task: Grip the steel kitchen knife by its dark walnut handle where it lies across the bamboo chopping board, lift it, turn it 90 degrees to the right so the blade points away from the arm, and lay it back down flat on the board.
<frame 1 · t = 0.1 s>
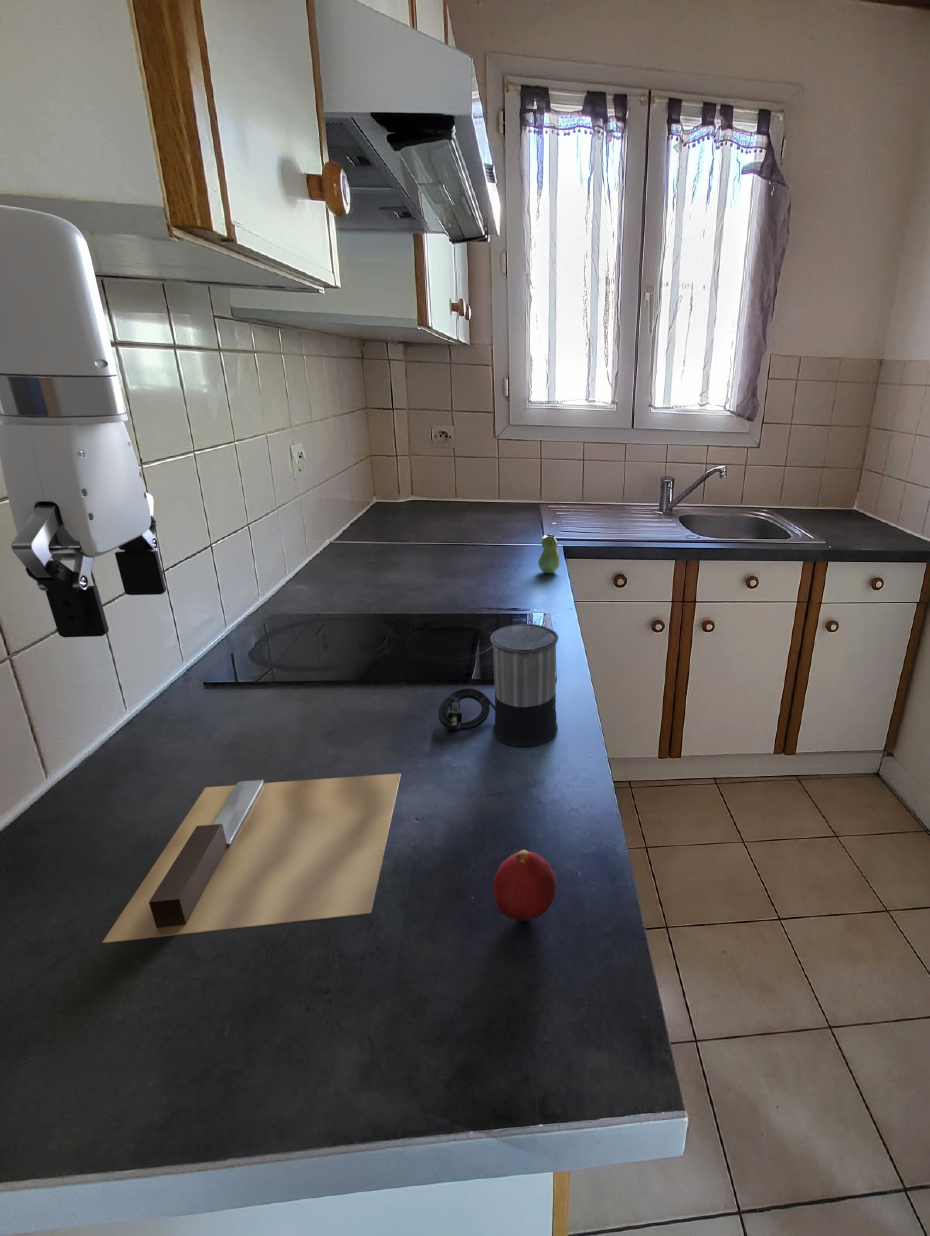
hand: (118, 612, 54), 28 cm above the counter, tool pointing down, fingers open, 9 cm apart
chopping board: (280, 854, 67), on the counter
pear: (548, 573, 162), on the counter
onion: (525, 917, 61), on the counter
milk frother: (499, 727, 93), on the counter
knife: (234, 813, 71), point 1 cm above the counter, touching chopping board
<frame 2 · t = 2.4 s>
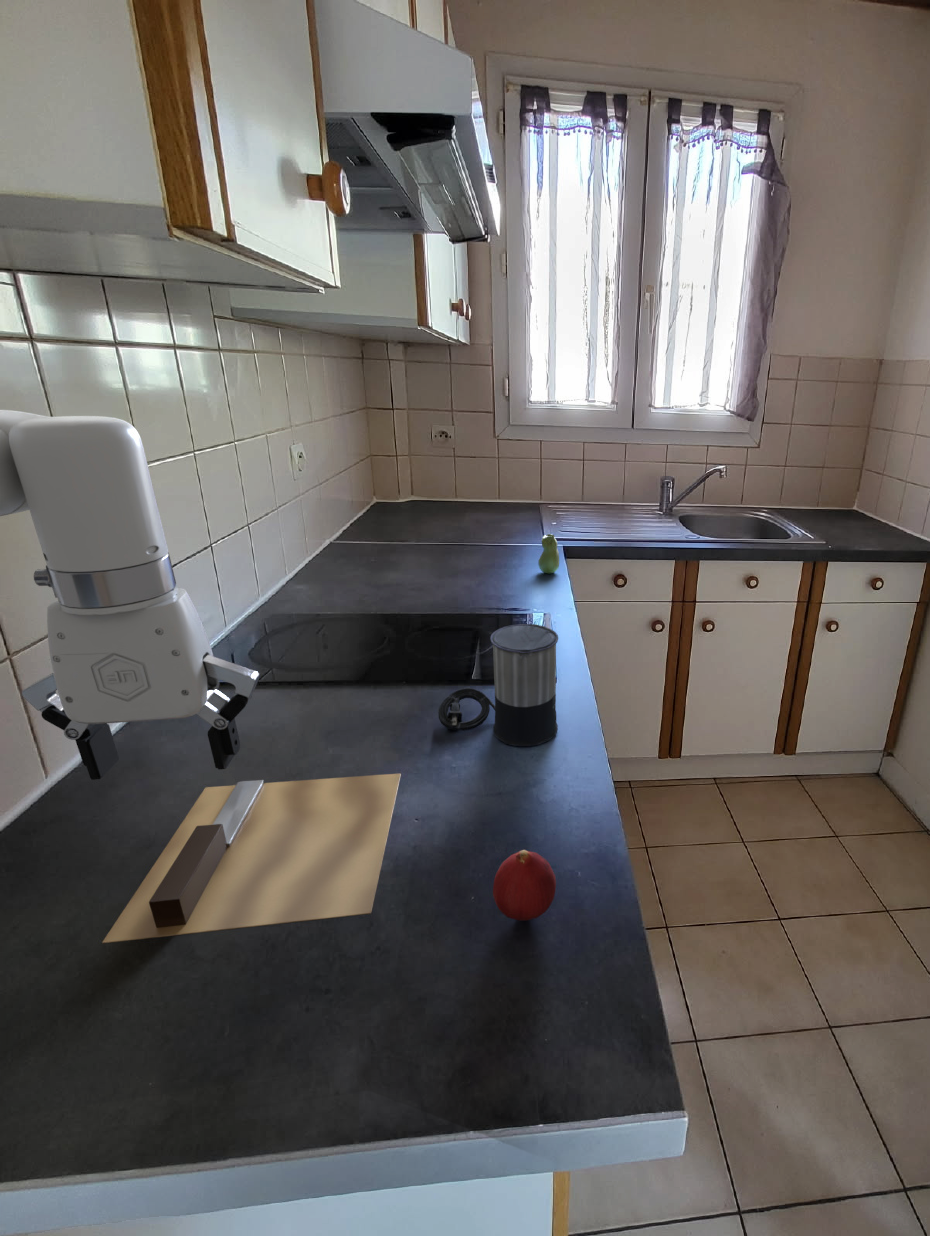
hand: (167, 765, 56), 15 cm above the counter, tool pointing down, fingers open, 9 cm apart
nothing on the counter moved.
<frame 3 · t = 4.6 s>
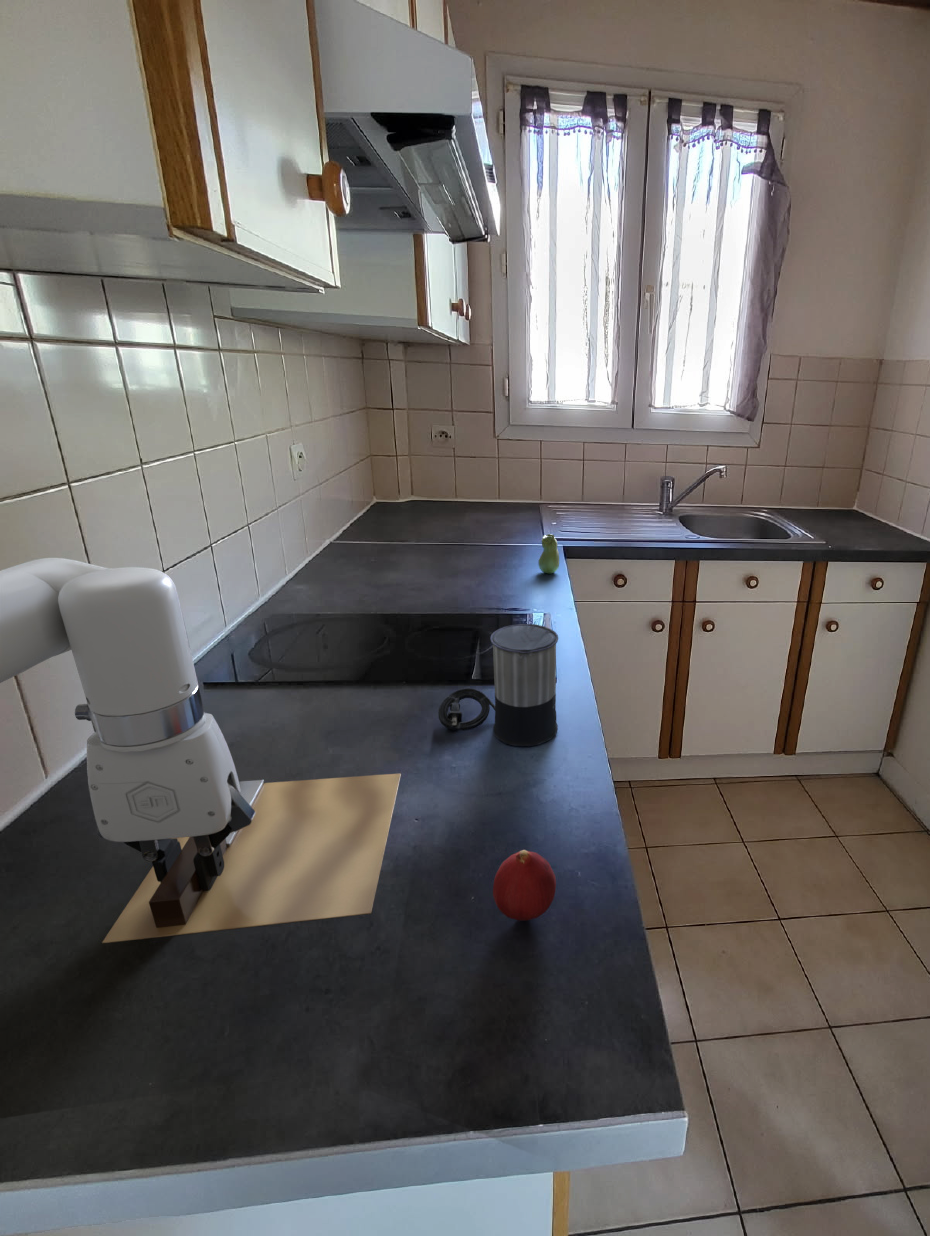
hand: (193, 880, 61), 2 cm above the counter, tool pointing down, fingers closed on knife, 2 cm apart
knife: (234, 813, 71), point 2 cm above the counter, touching chopping board, gripper
everything else where it was.
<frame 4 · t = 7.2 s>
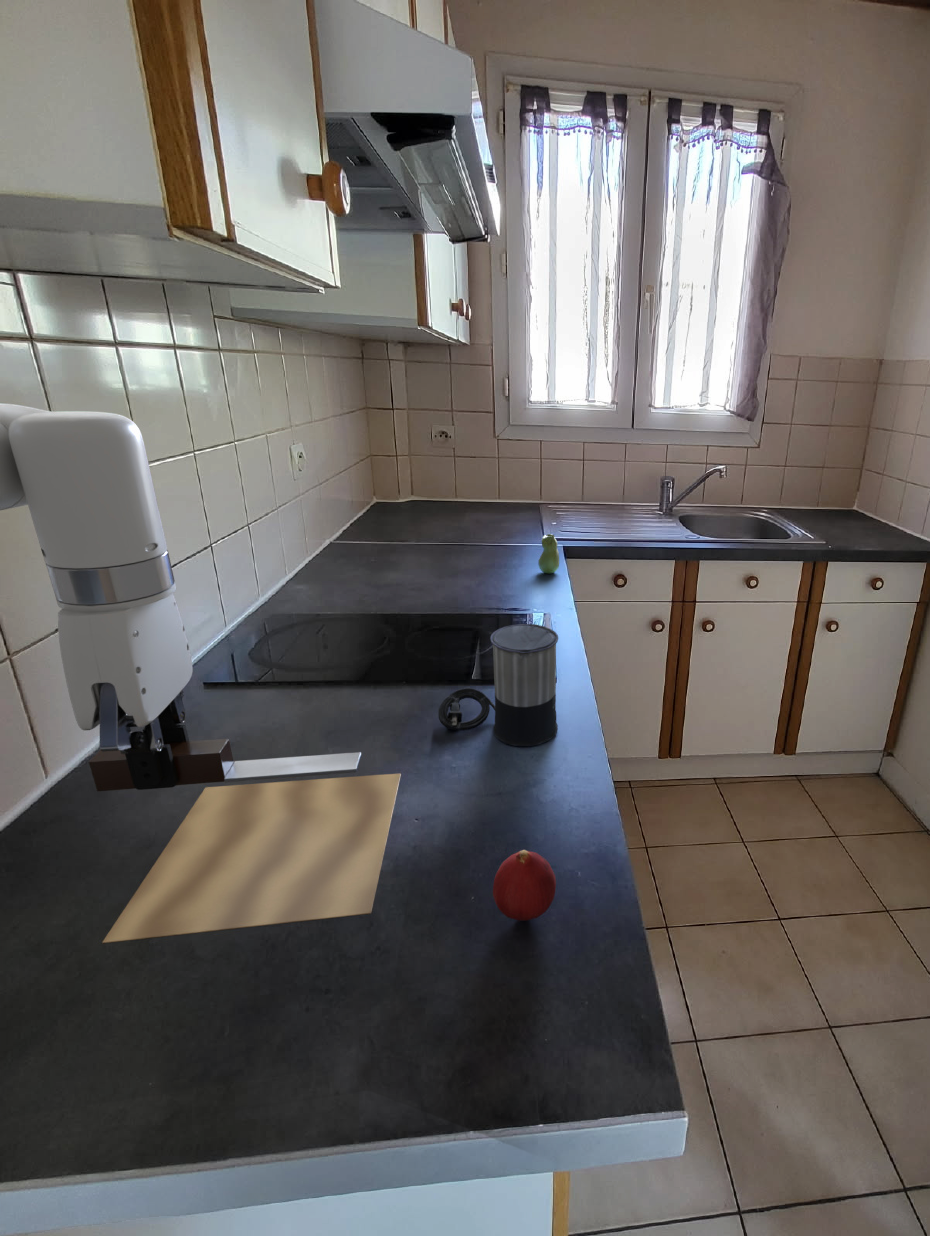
hand: (165, 774, 56), 14 cm above the counter, tool pointing down, fingers closed on knife, 2 cm apart
knife: (296, 769, 59), point 14 cm above the counter, touching gripper
everything else where it was.
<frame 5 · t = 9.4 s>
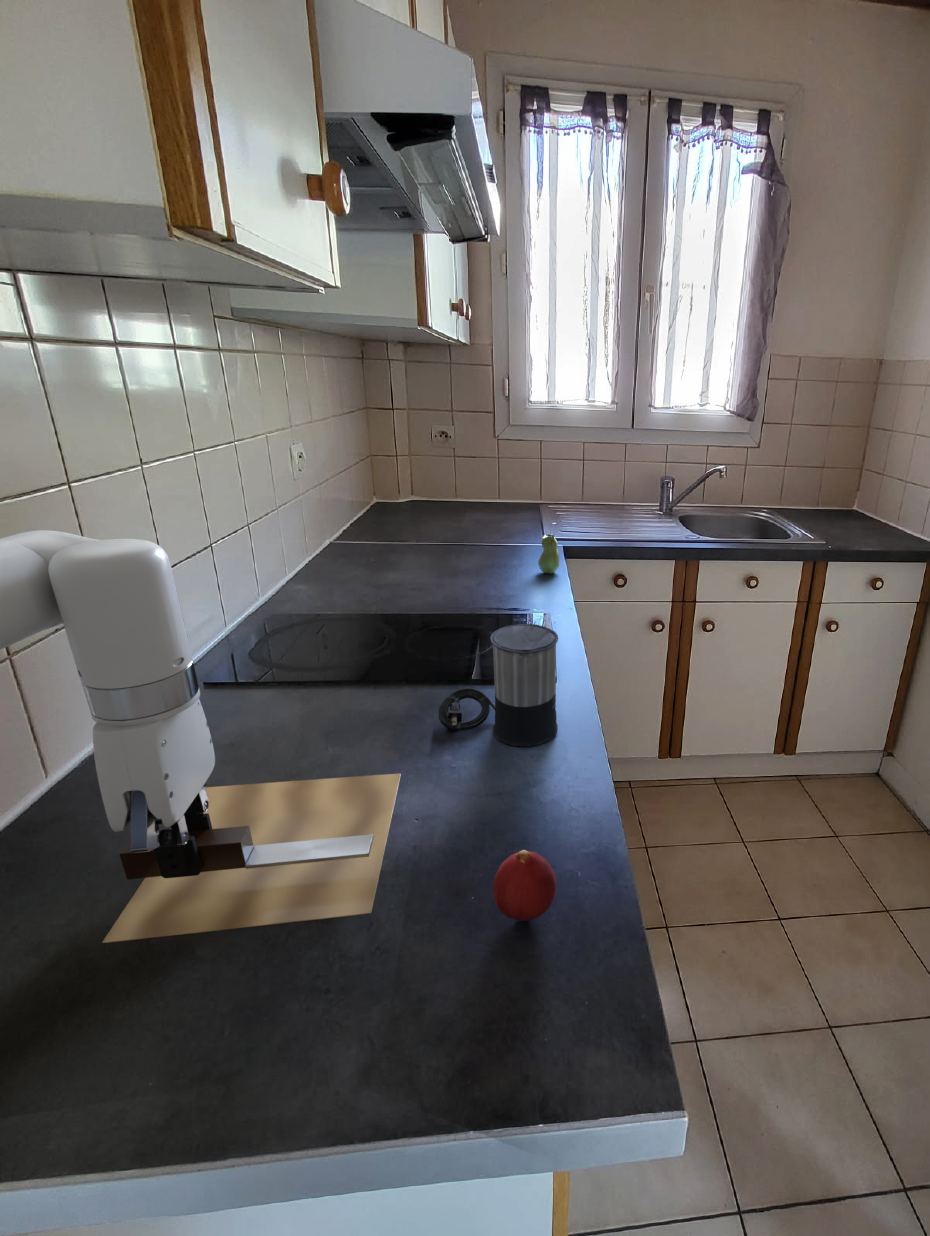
hand: (190, 860, 60), 4 cm above the counter, tool pointing down, fingers closed on knife, 2 cm apart
knife: (312, 853, 62), point 4 cm above the counter, touching gripper
everything else where it was.
when the fingers open (2 cm above the counter, at t = 10.2 s): knife stays where it is, resting on chopping board.
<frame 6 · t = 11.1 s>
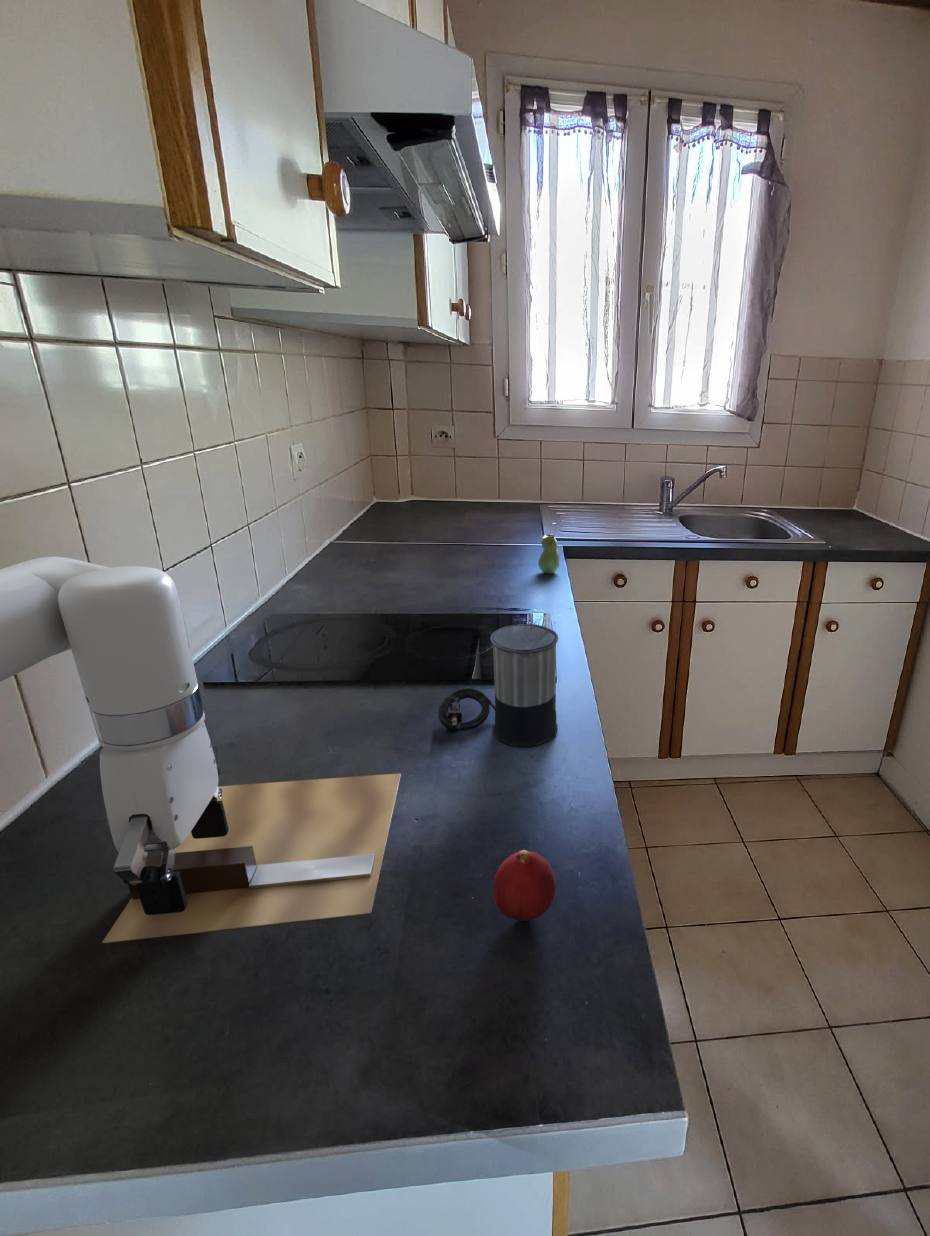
hand: (190, 870, 60), 3 cm above the counter, tool pointing down, fingers open, 9 cm apart
knife: (314, 872, 63), point 1 cm above the counter, touching chopping board
everything else where it was.
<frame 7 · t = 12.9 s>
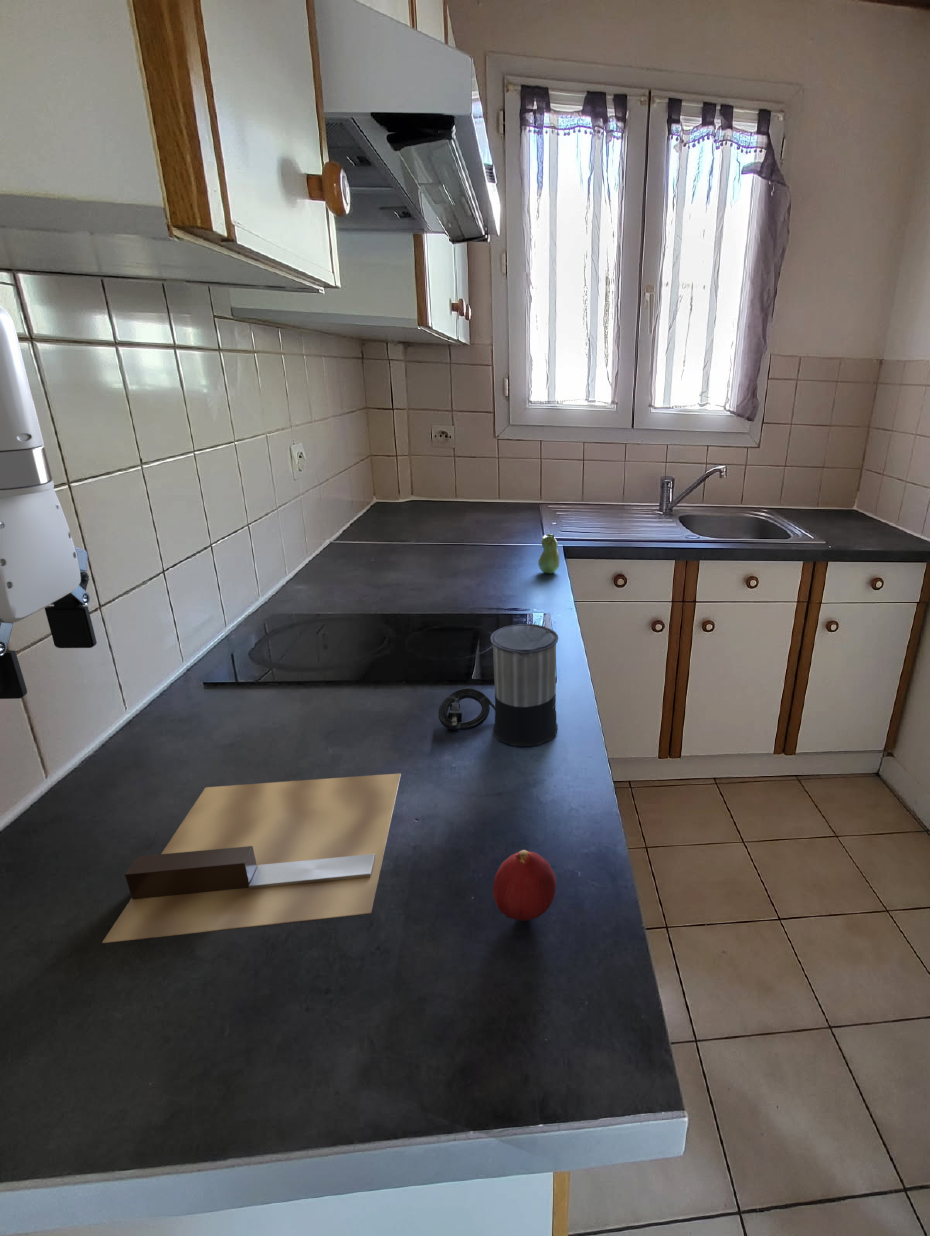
hand: (42, 670, 55), 23 cm above the counter, tool pointing down, fingers open, 9 cm apart
nothing on the counter moved.
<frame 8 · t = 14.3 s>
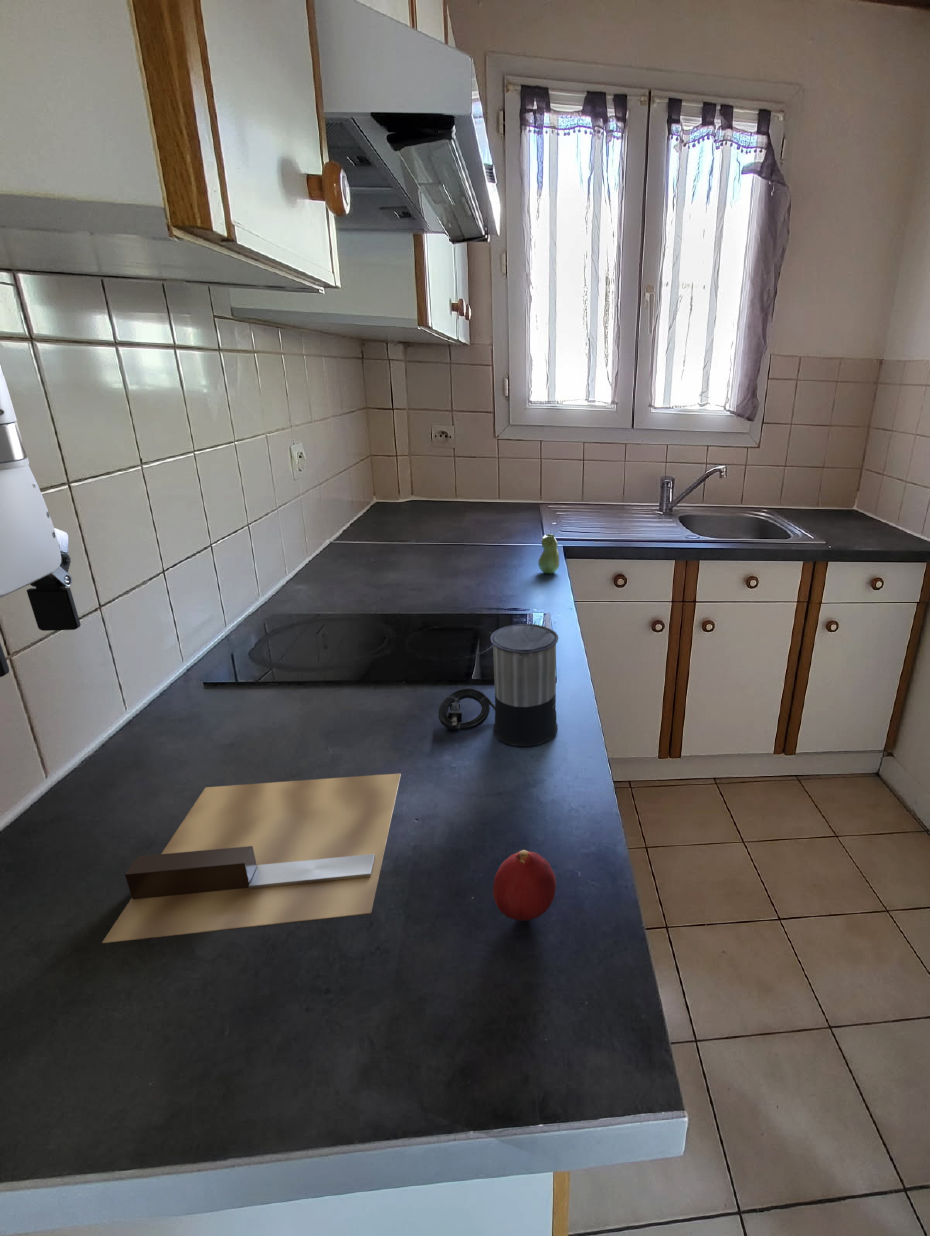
hand: (25, 650, 55), 24 cm above the counter, tool pointing down, fingers open, 9 cm apart
nothing on the counter moved.
at the end: knife inside the target area (0.0 cm from its centre), point 1.5 cm above the counter; knife tilted 0°; the gripper is holding nothing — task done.
